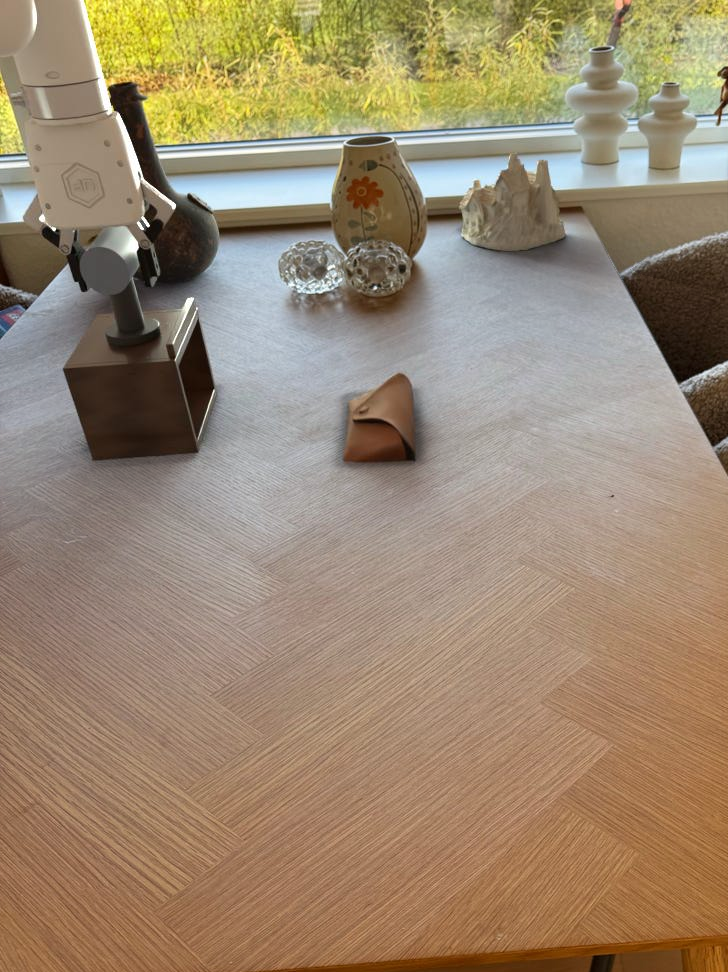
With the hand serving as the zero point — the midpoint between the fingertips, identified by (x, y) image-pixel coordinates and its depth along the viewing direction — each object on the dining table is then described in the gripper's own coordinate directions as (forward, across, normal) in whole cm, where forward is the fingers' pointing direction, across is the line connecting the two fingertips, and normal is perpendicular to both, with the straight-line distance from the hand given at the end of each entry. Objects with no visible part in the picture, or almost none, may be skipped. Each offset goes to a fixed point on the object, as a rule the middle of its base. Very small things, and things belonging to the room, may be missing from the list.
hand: (119, 284), depth 105 cm
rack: (+17, 0, 0) cm, 17 cm away
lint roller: (+6, 0, 0) cm, 6 cm away
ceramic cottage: (+17, +50, +65) cm, 84 cm away
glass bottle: (+17, -8, +56) cm, 59 cm away
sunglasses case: (+17, +27, -7) cm, 33 cm away
